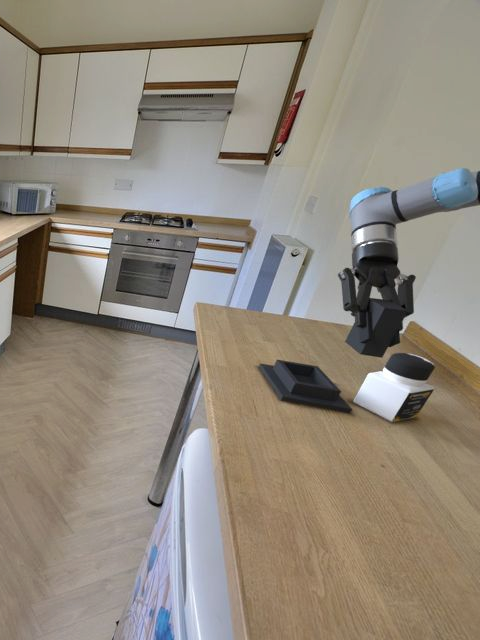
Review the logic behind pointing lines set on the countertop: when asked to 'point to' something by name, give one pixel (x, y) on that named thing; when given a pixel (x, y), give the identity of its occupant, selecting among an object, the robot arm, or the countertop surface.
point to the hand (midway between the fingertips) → (379, 342)
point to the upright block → (378, 327)
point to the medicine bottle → (397, 388)
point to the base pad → (304, 385)
